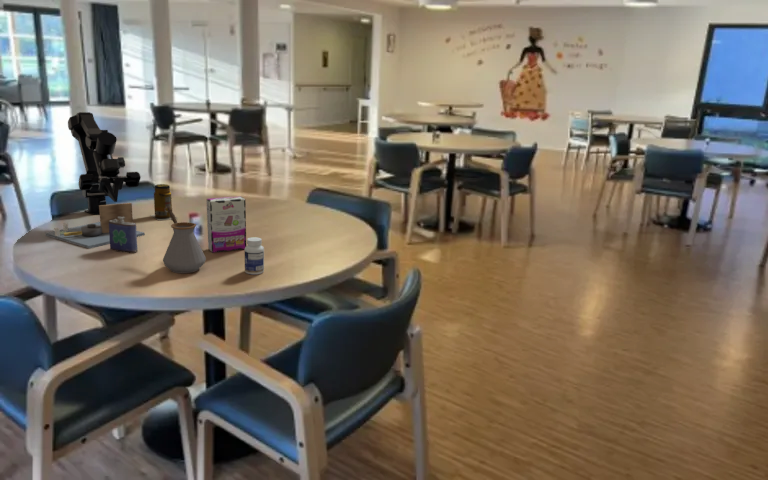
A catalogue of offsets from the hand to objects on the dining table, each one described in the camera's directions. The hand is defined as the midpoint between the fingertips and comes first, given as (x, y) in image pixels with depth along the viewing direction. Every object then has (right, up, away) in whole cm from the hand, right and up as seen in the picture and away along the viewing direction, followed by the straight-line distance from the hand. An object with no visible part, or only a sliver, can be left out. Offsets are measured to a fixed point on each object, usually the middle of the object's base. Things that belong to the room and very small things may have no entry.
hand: (115, 201), depth 194 cm
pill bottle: (+53, -22, -29) cm, 64 cm away
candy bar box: (+40, -16, -10) cm, 44 cm away
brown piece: (-3, -11, -5) cm, 12 cm away
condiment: (+8, -5, +22) cm, 24 cm away
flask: (+10, -16, -18) cm, 26 cm away
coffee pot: (+31, -20, -26) cm, 45 cm away
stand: (-4, -11, -4) cm, 13 cm away
